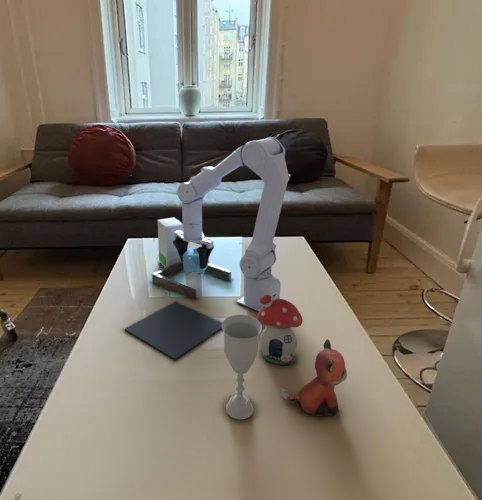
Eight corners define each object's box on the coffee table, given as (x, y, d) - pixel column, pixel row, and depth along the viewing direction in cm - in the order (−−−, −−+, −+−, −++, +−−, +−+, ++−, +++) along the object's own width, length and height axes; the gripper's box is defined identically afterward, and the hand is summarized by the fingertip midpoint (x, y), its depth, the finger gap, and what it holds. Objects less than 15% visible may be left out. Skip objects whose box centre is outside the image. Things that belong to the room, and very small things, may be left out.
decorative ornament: (252, 357, 85) (254, 297, 80) (262, 341, 91) (265, 284, 85) (293, 370, 81) (299, 308, 75) (301, 353, 86) (307, 294, 81)
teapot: (200, 280, 113) (198, 256, 111) (180, 279, 115) (178, 255, 113) (210, 265, 124) (209, 243, 122) (192, 264, 126) (190, 242, 123)
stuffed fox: (277, 387, 77) (281, 336, 72) (335, 389, 75) (343, 338, 71) (282, 416, 70) (286, 362, 65) (346, 419, 69) (355, 364, 64)
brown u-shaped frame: (231, 279, 121) (231, 270, 120) (193, 300, 110) (193, 291, 109) (190, 264, 133) (190, 256, 132) (152, 282, 121) (151, 273, 120)
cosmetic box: (158, 261, 136) (156, 219, 130) (176, 258, 138) (174, 216, 133) (167, 270, 129) (165, 226, 123) (185, 266, 131) (184, 223, 126)
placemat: (225, 326, 97) (225, 324, 97) (175, 360, 85) (175, 358, 85) (175, 302, 109) (175, 301, 109) (124, 330, 97) (124, 328, 97)
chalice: (257, 426, 68) (261, 340, 61) (218, 421, 69) (218, 336, 62) (258, 396, 74) (262, 316, 68) (223, 392, 76) (224, 313, 69)
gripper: (220, 223, 111) (220, 266, 116) (184, 214, 121) (185, 254, 126) (204, 229, 107) (204, 274, 112) (167, 219, 116) (170, 261, 121)
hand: (193, 264), depth 118 cm, fingers closed on teapot, 7 cm apart
